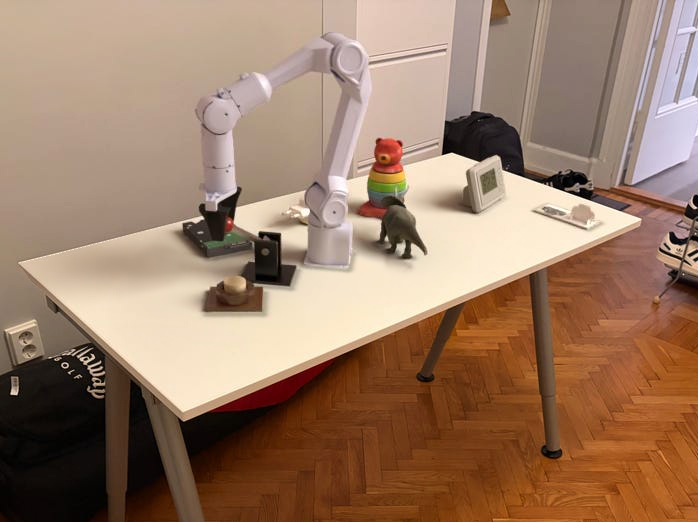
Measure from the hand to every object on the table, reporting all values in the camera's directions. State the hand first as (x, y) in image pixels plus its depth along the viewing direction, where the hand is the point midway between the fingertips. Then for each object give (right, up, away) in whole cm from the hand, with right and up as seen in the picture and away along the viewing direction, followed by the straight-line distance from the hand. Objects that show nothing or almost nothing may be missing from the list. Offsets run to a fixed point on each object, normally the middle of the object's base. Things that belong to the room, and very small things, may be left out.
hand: (223, 232), depth 140 cm
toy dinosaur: (+34, -1, +19) cm, 39 cm away
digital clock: (+58, +15, +45) cm, 75 cm away
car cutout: (+78, +11, +40) cm, 88 cm away
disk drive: (-5, +1, +17) cm, 18 cm away
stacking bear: (+32, +11, +37) cm, 50 cm away
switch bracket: (+8, -8, +5) cm, 13 cm away
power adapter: (+13, +7, +28) cm, 32 cm away
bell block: (+3, -14, -5) cm, 15 cm away
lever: (+4, -2, +1) cm, 4 cm away
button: (+4, -12, -6) cm, 14 cm away
